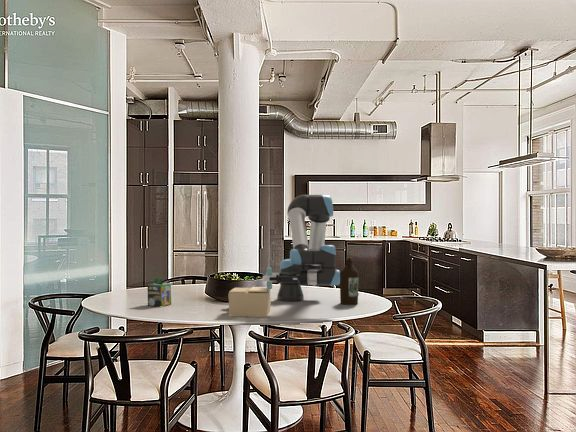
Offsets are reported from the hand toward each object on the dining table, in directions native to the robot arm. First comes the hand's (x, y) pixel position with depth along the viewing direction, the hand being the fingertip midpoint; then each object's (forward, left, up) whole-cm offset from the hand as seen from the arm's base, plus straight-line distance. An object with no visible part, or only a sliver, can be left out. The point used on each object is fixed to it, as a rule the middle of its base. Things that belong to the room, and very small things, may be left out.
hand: (264, 276), depth 274 cm
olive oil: (-36, +42, -18) cm, 58 cm away
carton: (0, -7, -18) cm, 19 cm away
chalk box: (-21, -59, -18) cm, 65 cm away
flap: (0, -2, -6) cm, 7 cm away
